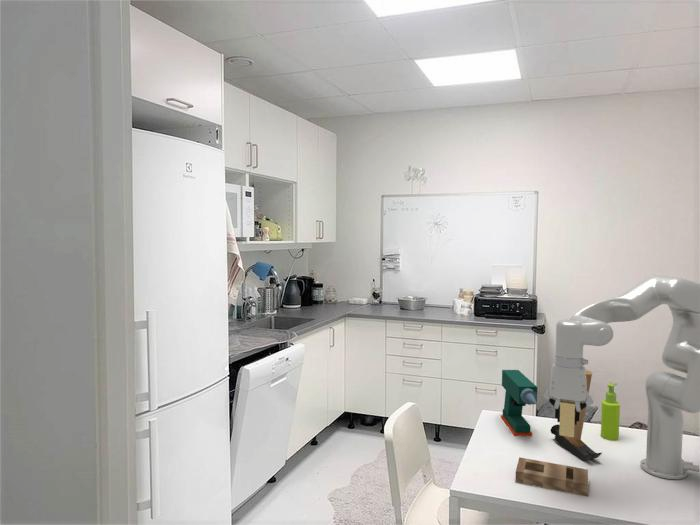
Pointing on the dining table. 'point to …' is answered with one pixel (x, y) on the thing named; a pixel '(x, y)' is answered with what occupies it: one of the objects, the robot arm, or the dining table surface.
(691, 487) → the dining table surface
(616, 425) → the soap dispenser
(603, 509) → the dining table surface
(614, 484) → the dining table surface
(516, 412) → the power tool
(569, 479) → the block
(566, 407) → the square bit
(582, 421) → the hammer
